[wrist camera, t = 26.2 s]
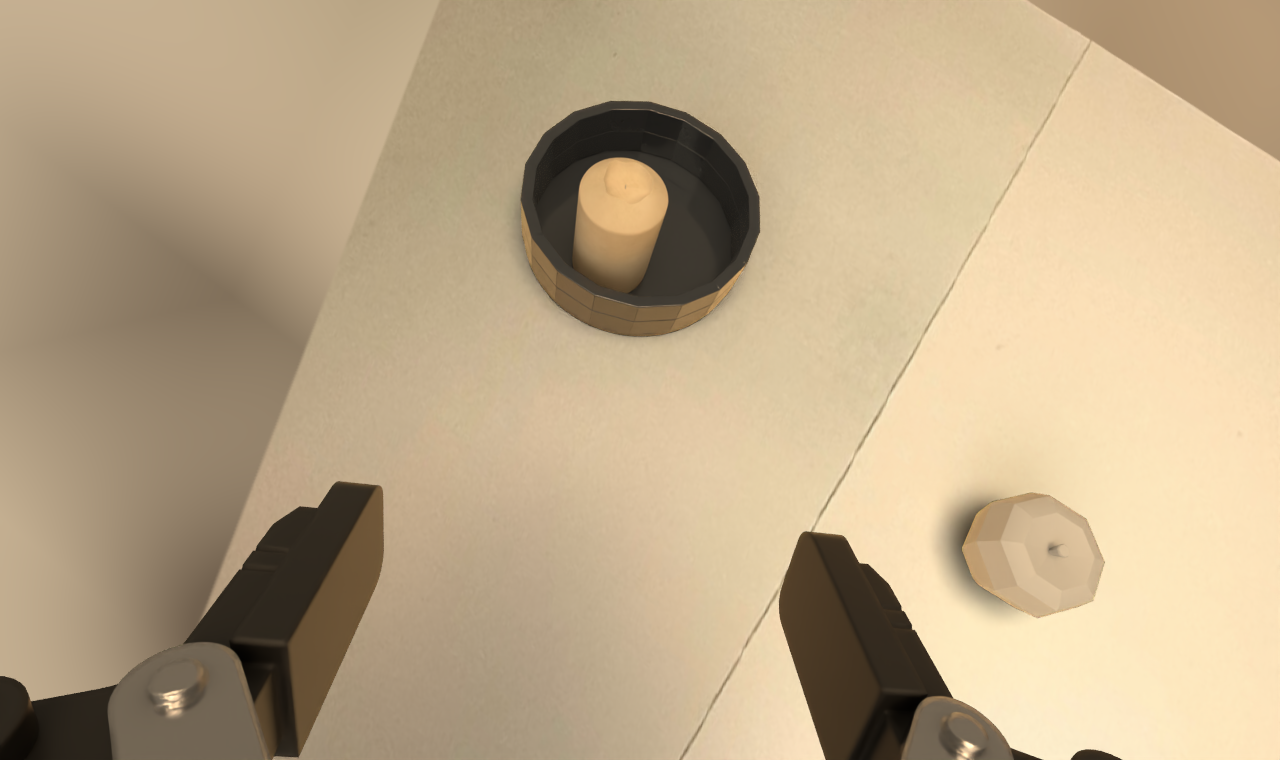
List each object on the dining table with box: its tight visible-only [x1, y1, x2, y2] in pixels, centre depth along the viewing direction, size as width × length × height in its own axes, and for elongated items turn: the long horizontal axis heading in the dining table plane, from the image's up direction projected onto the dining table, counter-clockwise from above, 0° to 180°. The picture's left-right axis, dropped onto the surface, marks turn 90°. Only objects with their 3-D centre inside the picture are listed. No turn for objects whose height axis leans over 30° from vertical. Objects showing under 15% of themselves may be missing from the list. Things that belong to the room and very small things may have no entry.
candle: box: [572, 158, 668, 293], centre depth 41 cm, size 6×6×10 cm
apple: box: [962, 493, 1105, 618], centre depth 41 cm, size 8×8×7 cm
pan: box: [521, 101, 760, 336], centre depth 45 cm, size 17×17×5 cm
